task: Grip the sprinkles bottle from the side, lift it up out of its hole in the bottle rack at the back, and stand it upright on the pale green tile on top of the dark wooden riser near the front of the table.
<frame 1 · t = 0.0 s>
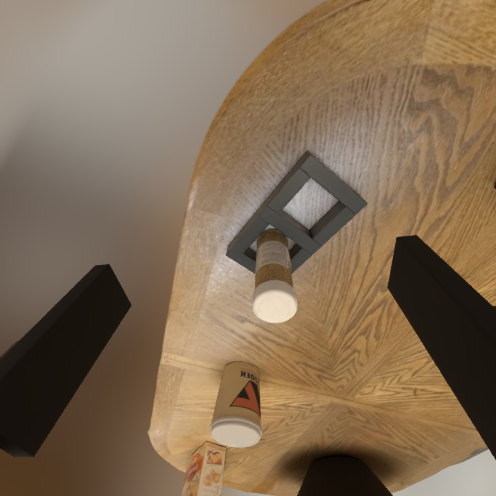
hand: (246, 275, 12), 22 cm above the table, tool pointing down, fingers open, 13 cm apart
bottle rack: (289, 223, 34), on the table
sprinkles bottle: (272, 241, 36), resting in bottle rack
bowl: (337, 464, 77), on the table
coffee cup: (241, 371, 54), on the table
coffeecake box: (207, 451, 78), on the table
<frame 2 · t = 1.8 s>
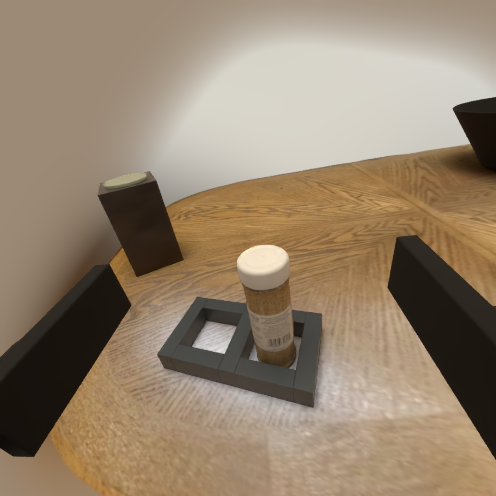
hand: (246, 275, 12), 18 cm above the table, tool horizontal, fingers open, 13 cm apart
riser: (157, 257, 51), on the table
bottle rack: (244, 347, 30), on the table
sprinkles bottle: (276, 354, 28), resting in bottle rack
coaster: (126, 181, 43), resting on riser
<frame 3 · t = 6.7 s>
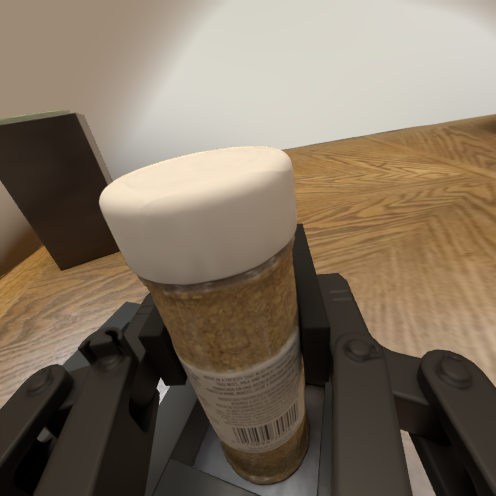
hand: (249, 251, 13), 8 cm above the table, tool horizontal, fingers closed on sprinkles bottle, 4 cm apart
riser: (101, 244, 36), on the table
bottle rack: (199, 409, 14), on the table
sprinkles bottle: (264, 431, 13), resting in bottle rack, touching gripper
coaster: (35, 120, 27), resting on riser
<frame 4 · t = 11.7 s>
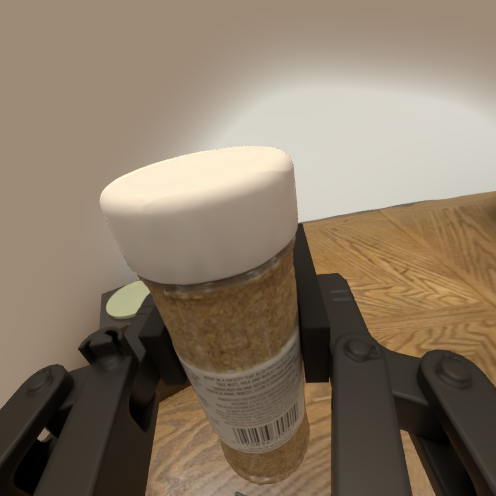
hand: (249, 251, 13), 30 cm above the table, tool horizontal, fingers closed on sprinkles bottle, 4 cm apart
riser: (172, 369, 42), on the table
sprinkles bottle: (264, 431, 13), point 22 cm above the table, touching gripper
coaster: (135, 299, 34), resting on riser
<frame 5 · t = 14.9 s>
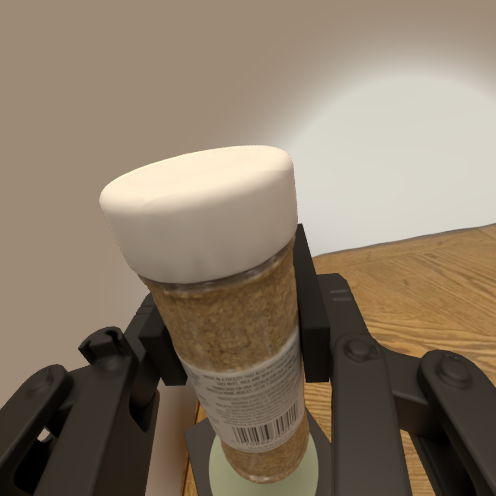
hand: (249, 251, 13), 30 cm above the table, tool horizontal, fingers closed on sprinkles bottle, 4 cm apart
sprinkles bottle: (264, 431, 13), point 22 cm above the table, touching gripper
coaster: (263, 459, 17), resting on riser
when the fingers open (24 cm above the table, at t = 16.9 s): sprinkles bottle stays where it is, resting on coaster.
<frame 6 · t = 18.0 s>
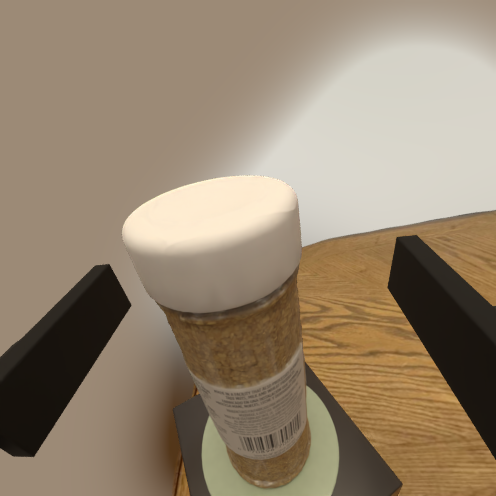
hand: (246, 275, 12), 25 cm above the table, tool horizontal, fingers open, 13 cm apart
sprinkles bottle: (267, 437, 13), point 16 cm above the table, touching coaster
coaster: (268, 439, 13), resting on riser
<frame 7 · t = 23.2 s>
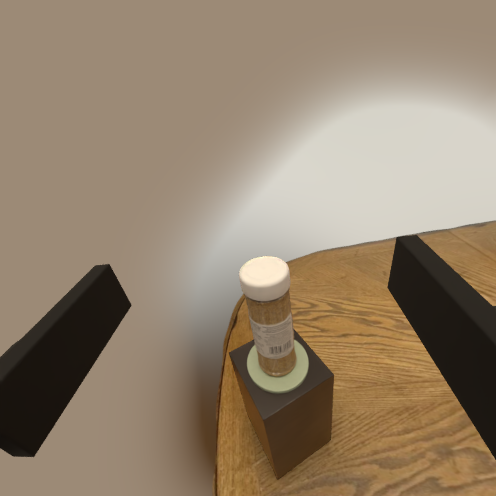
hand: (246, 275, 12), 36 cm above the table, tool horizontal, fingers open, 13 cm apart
riser: (286, 426, 37), on the table
sprinkles bottle: (277, 361, 29), point 16 cm above the table, touching coaster
coaster: (277, 362, 29), resting on riser
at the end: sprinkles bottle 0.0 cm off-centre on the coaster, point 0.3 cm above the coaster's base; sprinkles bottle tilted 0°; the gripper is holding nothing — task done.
